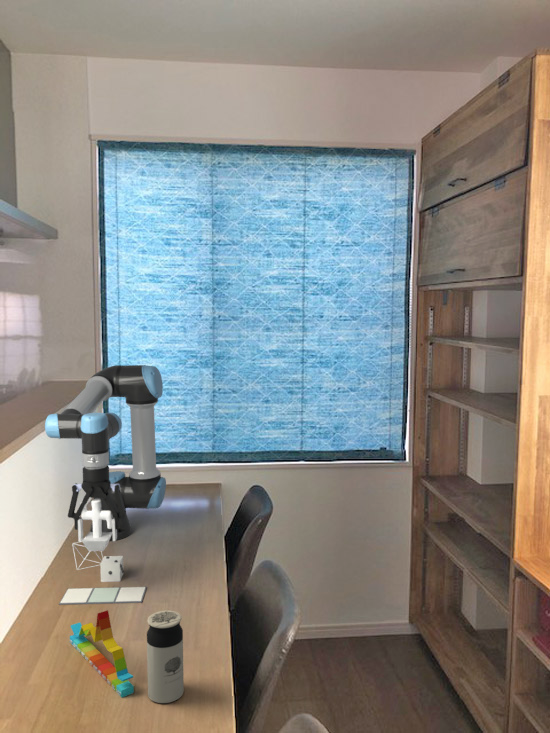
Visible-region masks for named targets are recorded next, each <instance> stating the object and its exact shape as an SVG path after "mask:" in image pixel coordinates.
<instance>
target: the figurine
mask: <svg viewBox="0 0 550 733" xmlns="http://www.w3.org/2000/svg"><path fill="white" fill-rule="evenodd" d="M81 503H82V501H80V504H79V506H80V505H81ZM90 504H91V505H90V506H91V510H90V509H88V508H87V503H86V504H85V506H84V508H83V510H82V512H81V515H80V517H81V518H82V519H83V521H93V532H90V531H89V532H88V533H87V534H86V535H85V536H84V537H83V540H82V542H81V543H83V546H85V547H84V548H85V549H87V551H88V552H89V551H90V552H94V551H95V552H101V551H102V552H104V551H105V549H106V548H107V546H108V545H109V542H110V541H109V540H110V538H111V535H112V532H102V521H101V520H106V521H107V528H108V529H112V519H113V514H112V513H111V511H109V510H101V507H102V506H101V499H100V498H92V500H91V502H90Z"/></svg>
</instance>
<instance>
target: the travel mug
mask: <svg viewBox="0 0 550 733" xmlns="http://www.w3.org/2000/svg"><path fill="white" fill-rule="evenodd" d="M181 621H182V615H181V614H180V613H179V612H178V611H174V610H169V609H168V610H159V611H156V612H154V613H152V614H150V615H149V616H148V617H147V624H148V626H149V628H148V629H147V631H146V656H147V657H146V660H147V661H146V663H147V664H146V665H147V697H148V698H149V699H150V700H151V701H153V702H154V703H159V704H168V703H169V704H170V703H172V702H175V701H176V700H179V699H180V698H182V696H183V695H184V690H185V689H184V686H185V685H184V680H185V679H184V630H183V628H182V626H181Z"/></svg>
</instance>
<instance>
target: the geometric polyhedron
mask: <svg viewBox="0 0 550 733" xmlns="http://www.w3.org/2000/svg"><path fill="white" fill-rule="evenodd" d="M78 543H83V542H82V541H81V542H78V541H77V542H72V545H71V546H72V551H73V555H74V562H75V567H76V570H77V571H79V570H83V569H85V567H83V568H80V567H81V566H82V564H83V562H84V561H90V562H94V563H97V564H96V565H92V566H91V565H90V566H87V567H86V569H89V568H93V567H97V566H98V567H99V564H100V562H99V561H95V560H91V559H87V557H88V556H89V555H90V552H91V551H88V552H87V554H86V556H85V557H84V556H83V555H82V554H81V553H80V551H79V549H78V548H77V547H76V546H80V547H84V548H86V547H85V545H82V544H78ZM75 550H76V551H77V552H78V553H79V555H80V556H81V557H82V562H81V563H80V565H79V566H78V565H77V560H76V553H75ZM93 552H94V553H95V554H96V556H97V558H98V559H99V560H100V561H101V562H102V560H103V558H104V556H103V551H100V552H101V558H102V559H101V558H100V556H99V555H98V553H97V551H93Z"/></svg>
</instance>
